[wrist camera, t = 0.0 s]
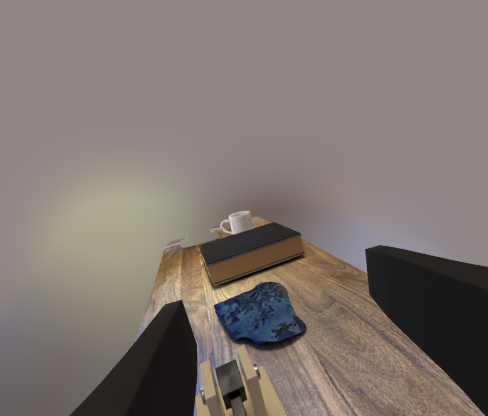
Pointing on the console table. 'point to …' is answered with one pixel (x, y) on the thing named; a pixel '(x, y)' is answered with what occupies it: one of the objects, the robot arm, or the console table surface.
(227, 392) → the lever
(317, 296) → the console table surface
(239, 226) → the mug
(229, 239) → the book
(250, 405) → the bracket
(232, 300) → the rock
